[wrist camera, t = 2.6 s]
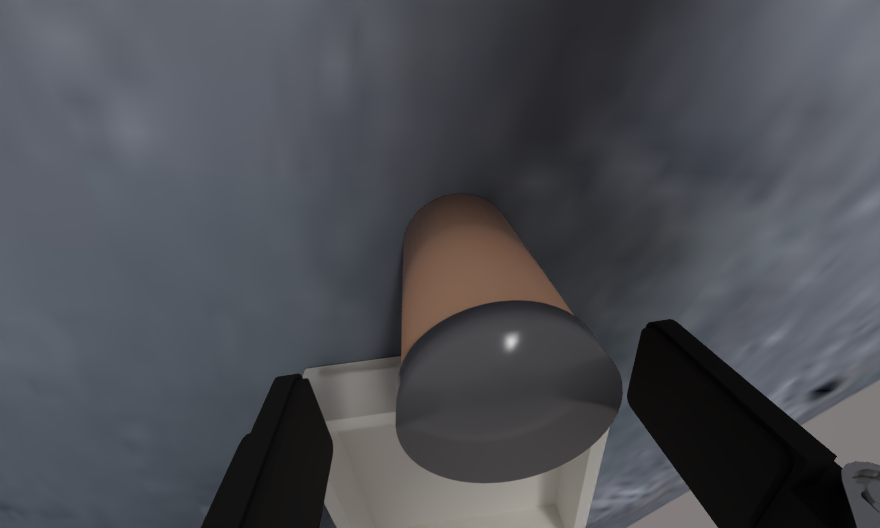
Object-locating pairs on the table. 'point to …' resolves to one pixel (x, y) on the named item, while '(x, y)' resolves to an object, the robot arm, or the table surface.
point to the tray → (414, 488)
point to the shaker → (492, 353)
